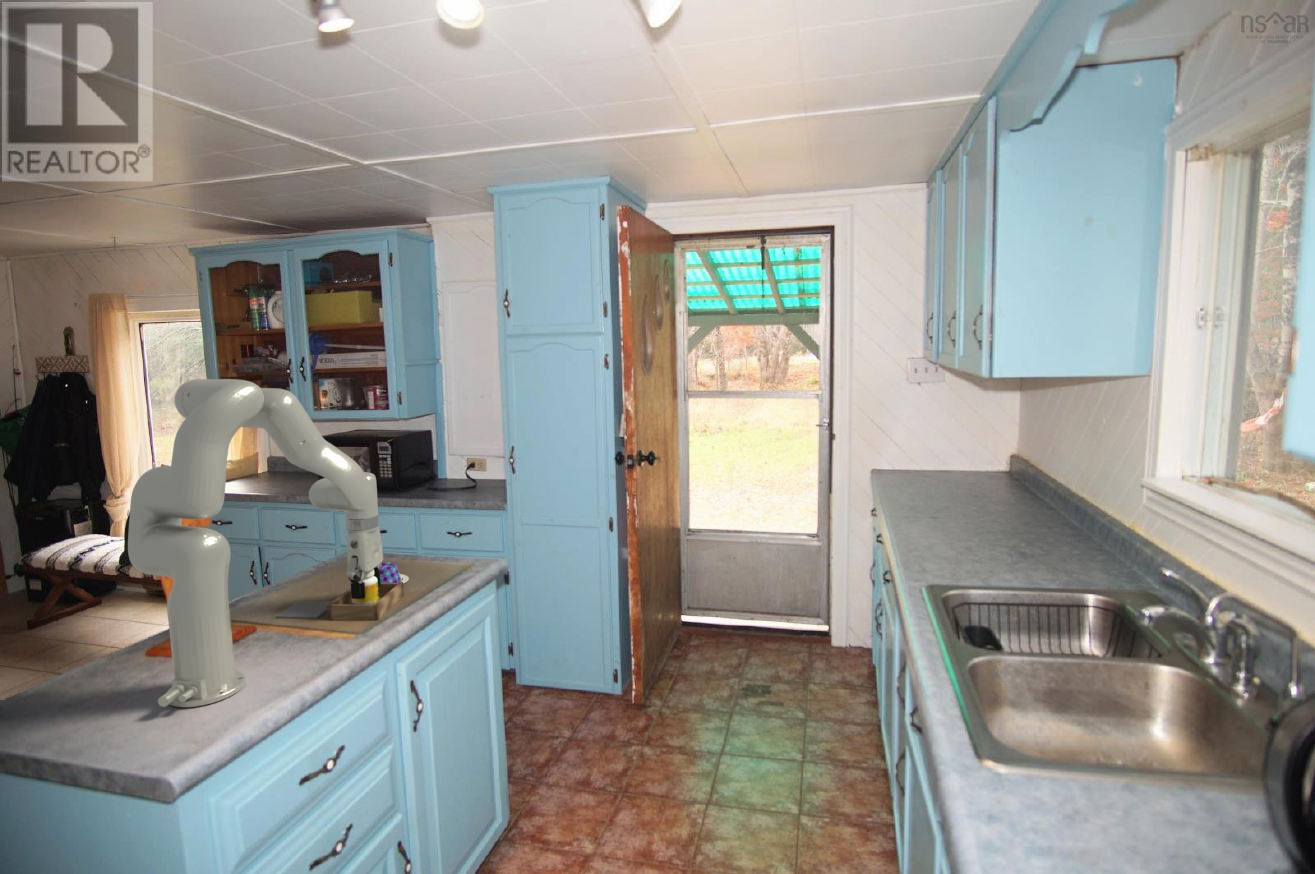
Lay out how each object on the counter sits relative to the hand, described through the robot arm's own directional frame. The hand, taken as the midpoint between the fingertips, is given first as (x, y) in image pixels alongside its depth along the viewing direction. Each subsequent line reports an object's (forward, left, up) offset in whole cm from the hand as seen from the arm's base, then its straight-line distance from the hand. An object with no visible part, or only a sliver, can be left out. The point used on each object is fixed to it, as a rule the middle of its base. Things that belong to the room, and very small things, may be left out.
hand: (366, 591), depth 171 cm
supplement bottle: (0, 0, -4) cm, 4 cm away
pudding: (+18, +3, -5) cm, 19 cm away
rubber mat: (-2, +14, -4) cm, 15 cm away
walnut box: (0, 0, -4) cm, 4 cm away
